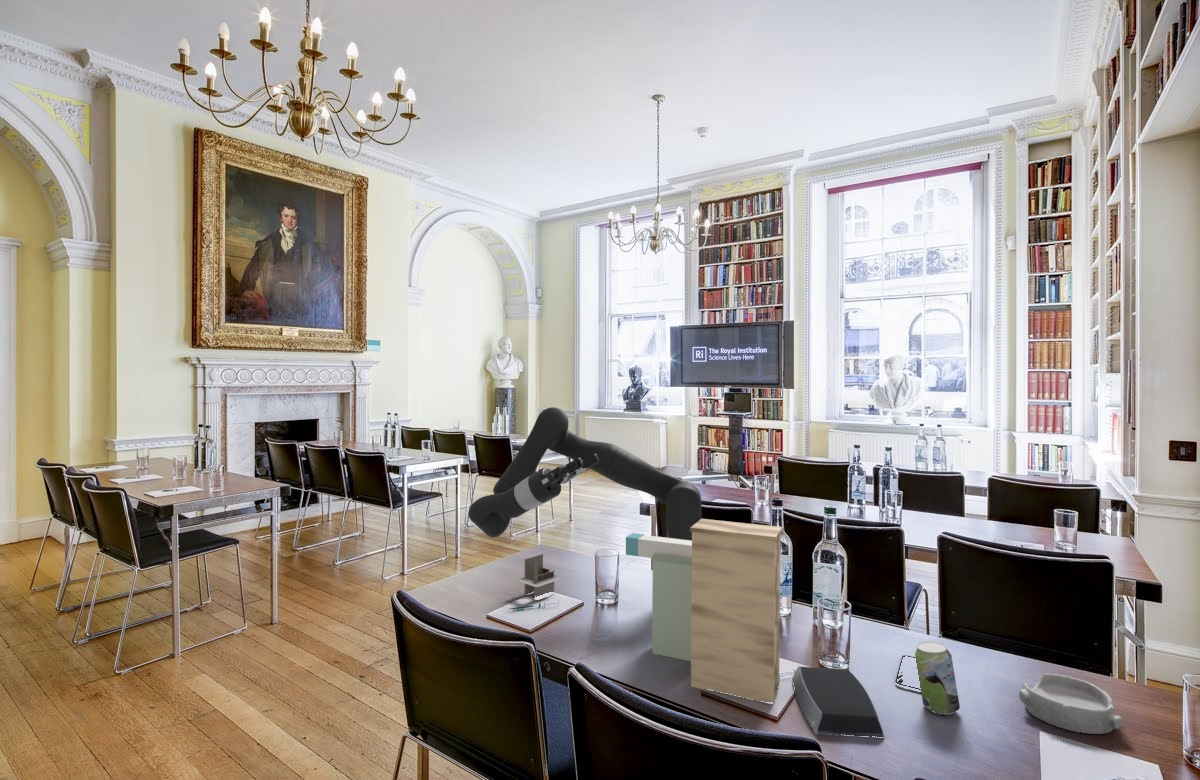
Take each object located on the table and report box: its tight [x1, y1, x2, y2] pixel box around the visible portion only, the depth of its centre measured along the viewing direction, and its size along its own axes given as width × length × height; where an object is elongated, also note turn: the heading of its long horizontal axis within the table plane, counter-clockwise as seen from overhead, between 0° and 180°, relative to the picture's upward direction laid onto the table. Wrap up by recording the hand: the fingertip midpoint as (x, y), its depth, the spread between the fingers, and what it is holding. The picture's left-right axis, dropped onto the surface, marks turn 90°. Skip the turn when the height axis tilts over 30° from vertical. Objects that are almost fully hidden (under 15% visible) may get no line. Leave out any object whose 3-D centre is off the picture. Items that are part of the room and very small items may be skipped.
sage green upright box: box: [651, 554, 692, 662], centre depth 134 cm, size 7×12×22 cm, turn 65°
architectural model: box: [519, 553, 559, 597], centre depth 170 cm, size 19×17×11 cm
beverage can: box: [914, 641, 961, 716], centre depth 111 cm, size 6×7×12 cm
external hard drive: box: [792, 666, 885, 738], centre depth 112 cm, size 13×19×4 cm
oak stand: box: [690, 518, 783, 703], centre depth 119 cm, size 9×17×32 cm, turn 65°
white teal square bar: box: [625, 532, 692, 559], centre depth 135 cm, size 4×24×4 cm, turn 65°
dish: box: [1018, 672, 1123, 735], centre depth 109 cm, size 14×14×5 cm
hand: (589, 459), depth 139 cm, fingers open, 8 cm apart
